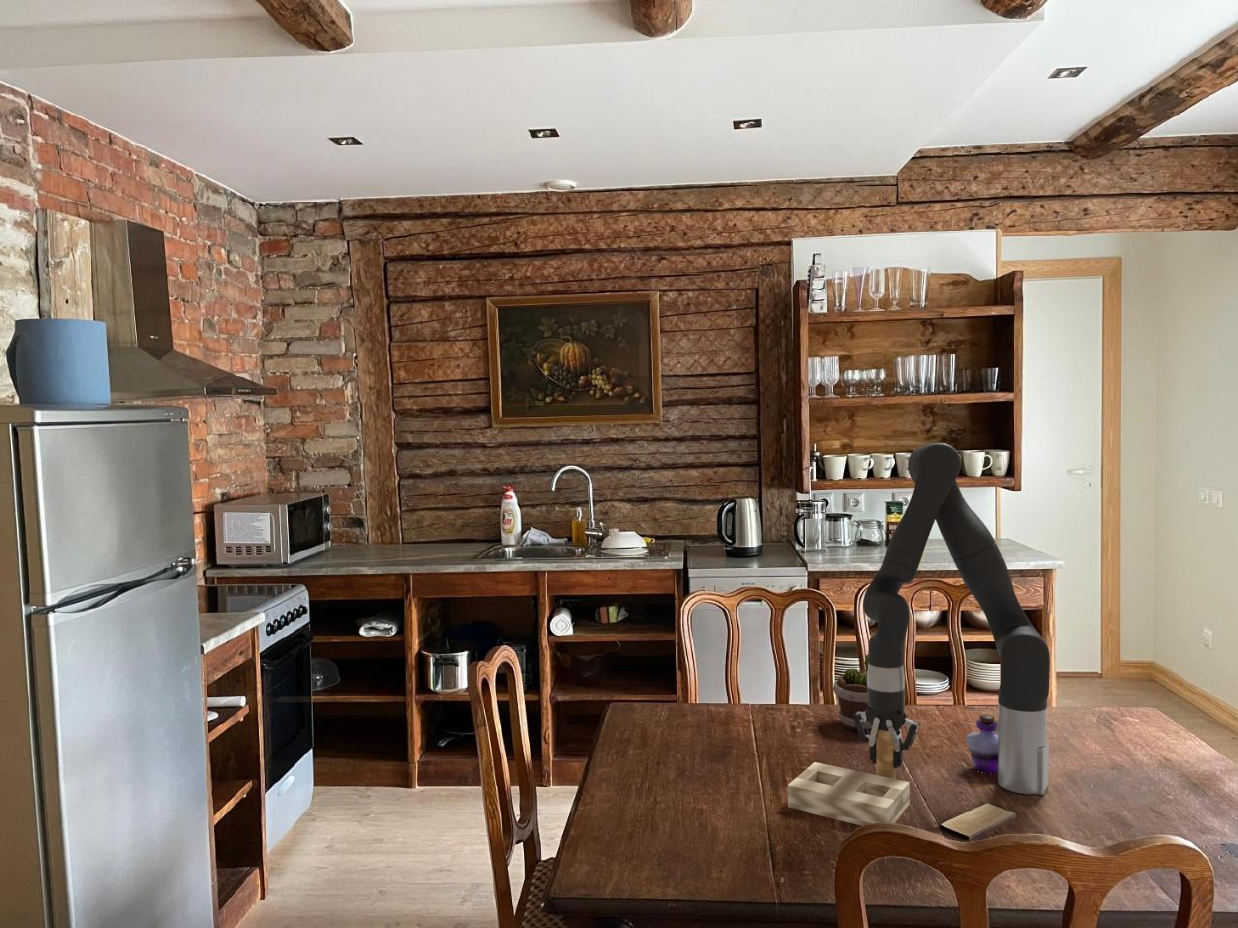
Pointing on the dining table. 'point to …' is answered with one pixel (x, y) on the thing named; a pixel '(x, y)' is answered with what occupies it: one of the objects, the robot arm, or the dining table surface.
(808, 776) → the hole block
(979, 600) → the robot arm
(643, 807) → the dining table surface
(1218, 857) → the dining table surface
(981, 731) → the potion bottle
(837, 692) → the flowerpot
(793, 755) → the dining table surface
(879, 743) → the peg
